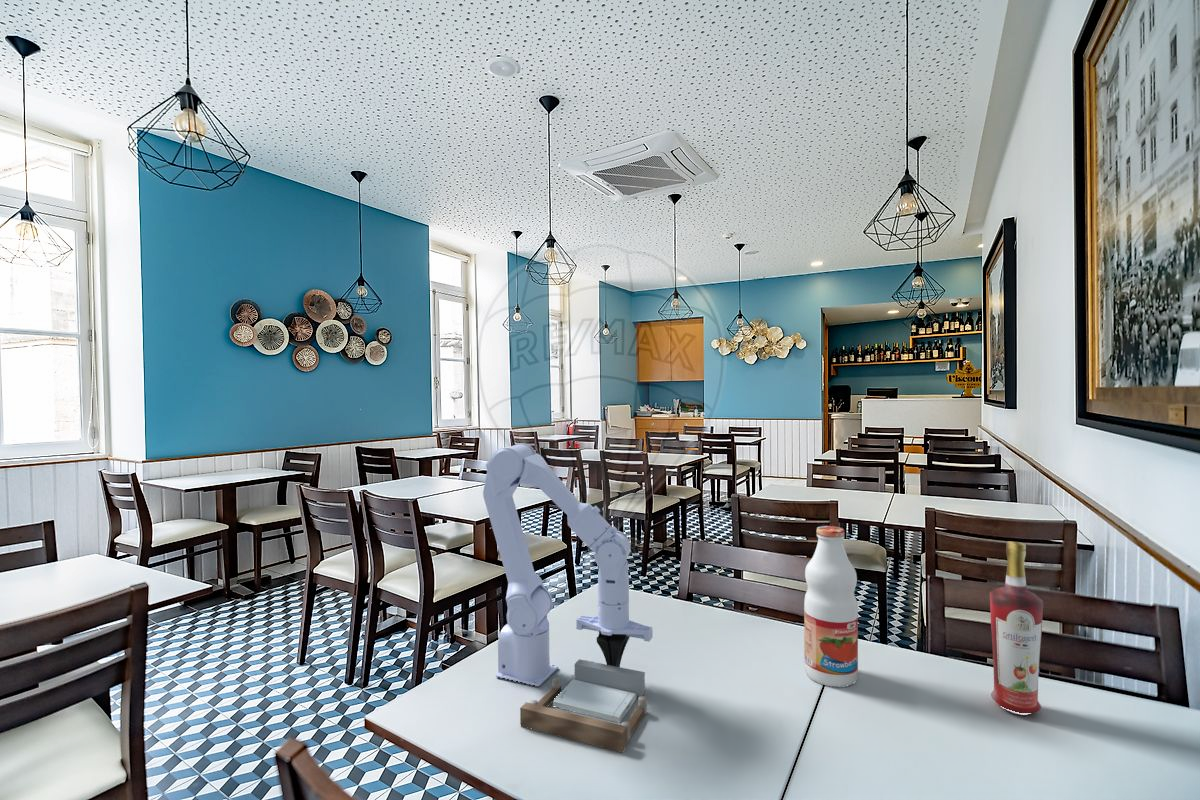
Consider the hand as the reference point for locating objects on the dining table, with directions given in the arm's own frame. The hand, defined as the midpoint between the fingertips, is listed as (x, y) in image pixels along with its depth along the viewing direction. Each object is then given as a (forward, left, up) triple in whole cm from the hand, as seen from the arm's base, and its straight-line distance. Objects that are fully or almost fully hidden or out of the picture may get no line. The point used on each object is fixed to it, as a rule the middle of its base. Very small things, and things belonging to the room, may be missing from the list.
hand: (614, 672), depth 106 cm
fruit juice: (+37, +18, -2) cm, 41 cm away
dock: (0, -12, -2) cm, 12 cm away
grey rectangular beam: (0, -3, -2) cm, 3 cm away
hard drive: (0, -8, -3) cm, 8 cm away
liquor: (+66, +18, -2) cm, 68 cm away
